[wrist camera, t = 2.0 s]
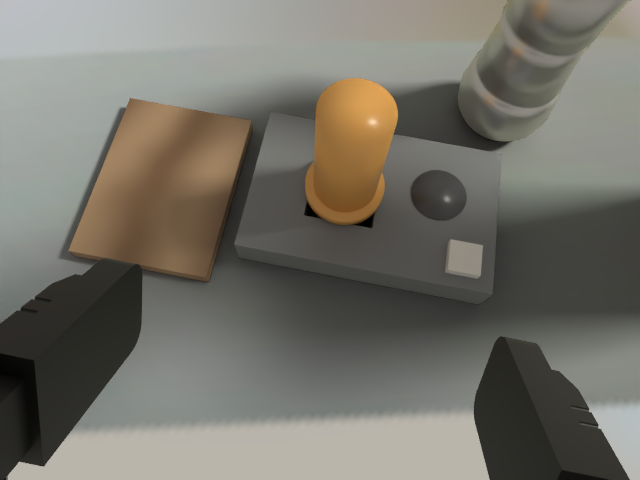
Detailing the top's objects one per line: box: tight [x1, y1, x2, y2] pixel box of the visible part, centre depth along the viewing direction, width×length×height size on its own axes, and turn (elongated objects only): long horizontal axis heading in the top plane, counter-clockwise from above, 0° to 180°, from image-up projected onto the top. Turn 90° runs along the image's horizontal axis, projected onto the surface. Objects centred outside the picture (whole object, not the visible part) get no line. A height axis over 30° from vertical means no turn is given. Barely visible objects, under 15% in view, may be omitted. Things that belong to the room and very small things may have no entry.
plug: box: [305, 78, 398, 226], centre depth 29 cm, size 5×5×11 cm
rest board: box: [68, 98, 253, 282], centre depth 34 cm, size 9×12×1 cm
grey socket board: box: [234, 112, 502, 304], centre depth 32 cm, size 16×10×3 cm, turn 79°
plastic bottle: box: [458, 0, 631, 141], centre depth 28 cm, size 6×7×20 cm
